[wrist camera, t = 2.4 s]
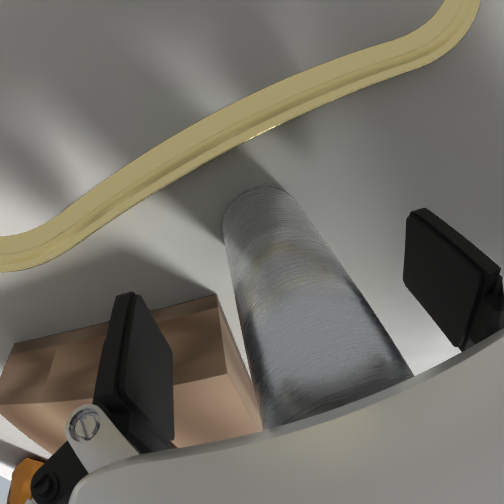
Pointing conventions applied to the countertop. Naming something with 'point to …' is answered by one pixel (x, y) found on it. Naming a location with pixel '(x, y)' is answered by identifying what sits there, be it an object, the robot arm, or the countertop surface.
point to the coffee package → (22, 481)
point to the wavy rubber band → (236, 132)
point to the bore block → (184, 378)
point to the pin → (301, 314)
